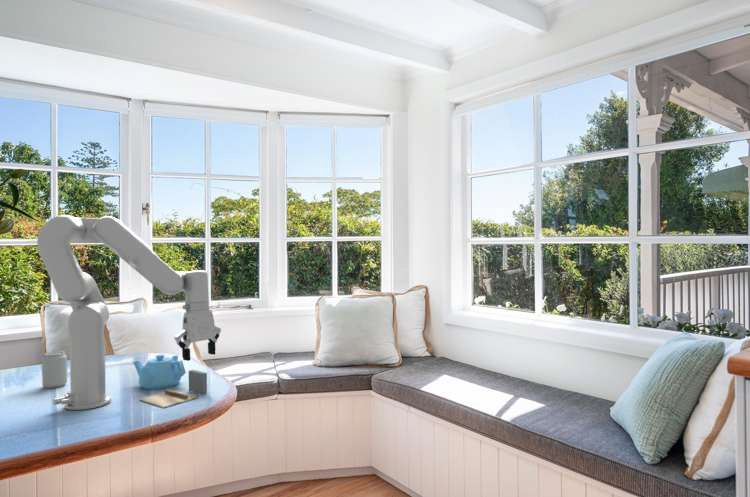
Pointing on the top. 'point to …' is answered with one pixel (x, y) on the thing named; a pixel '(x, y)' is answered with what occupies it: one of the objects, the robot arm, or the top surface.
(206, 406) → the top surface
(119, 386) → the top surface
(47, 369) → the can
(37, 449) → the top surface
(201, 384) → the tile
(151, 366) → the teapot
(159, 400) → the wooden ridged plate
